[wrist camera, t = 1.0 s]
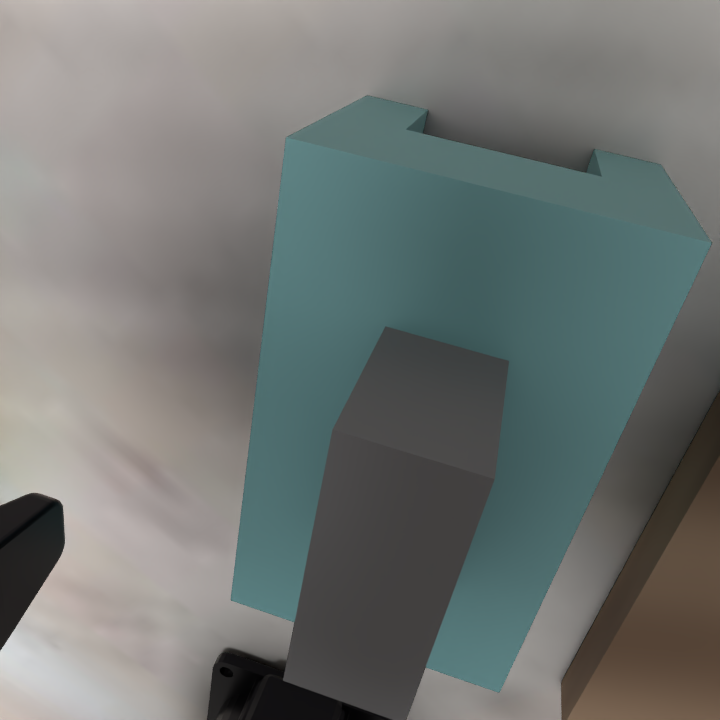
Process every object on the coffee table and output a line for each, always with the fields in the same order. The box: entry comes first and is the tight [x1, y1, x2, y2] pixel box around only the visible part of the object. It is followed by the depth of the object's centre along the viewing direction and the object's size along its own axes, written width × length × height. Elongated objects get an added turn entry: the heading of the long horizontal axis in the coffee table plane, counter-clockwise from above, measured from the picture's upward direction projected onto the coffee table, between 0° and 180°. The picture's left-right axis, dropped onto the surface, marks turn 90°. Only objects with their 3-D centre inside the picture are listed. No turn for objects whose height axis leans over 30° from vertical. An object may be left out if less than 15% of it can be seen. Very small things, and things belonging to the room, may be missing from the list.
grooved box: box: [231, 96, 712, 720], centre depth 13 cm, size 10×6×8 cm, turn 169°
